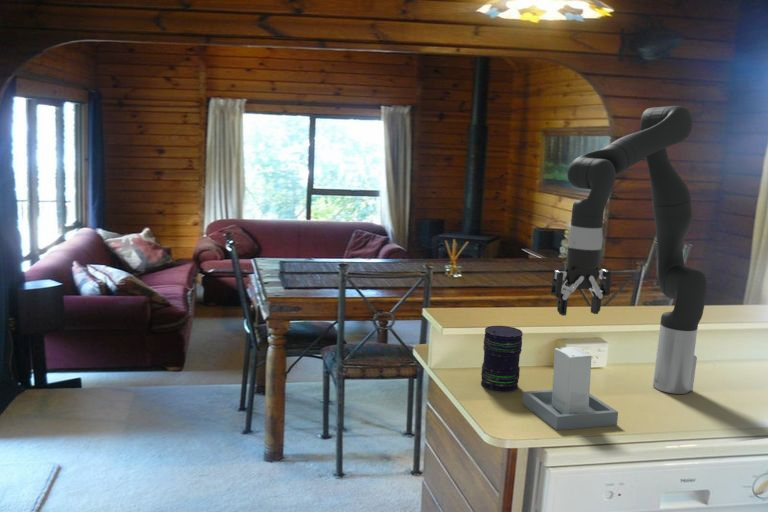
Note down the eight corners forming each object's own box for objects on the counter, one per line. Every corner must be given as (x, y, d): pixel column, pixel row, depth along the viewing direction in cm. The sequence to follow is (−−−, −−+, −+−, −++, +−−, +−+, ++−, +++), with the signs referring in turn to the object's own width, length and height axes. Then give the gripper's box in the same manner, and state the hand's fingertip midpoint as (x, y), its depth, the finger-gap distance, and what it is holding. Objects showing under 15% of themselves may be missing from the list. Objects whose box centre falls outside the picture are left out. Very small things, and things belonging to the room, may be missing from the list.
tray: (579, 399, 188) (580, 387, 187) (616, 424, 173) (618, 411, 172) (522, 403, 183) (523, 391, 182) (556, 430, 168) (557, 416, 167)
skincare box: (588, 417, 174) (594, 356, 172) (565, 418, 173) (571, 357, 170) (571, 403, 182) (576, 345, 180) (548, 404, 181) (554, 346, 178)
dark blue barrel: (507, 378, 201) (511, 324, 198) (525, 391, 192) (530, 335, 189) (474, 380, 198) (478, 326, 195) (490, 393, 189) (495, 337, 186)
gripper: (602, 242, 176) (595, 309, 179) (548, 243, 172) (543, 311, 174) (621, 248, 169) (614, 317, 172) (566, 248, 165) (559, 319, 167)
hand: (578, 314), depth 173 cm, fingers open, 8 cm apart
